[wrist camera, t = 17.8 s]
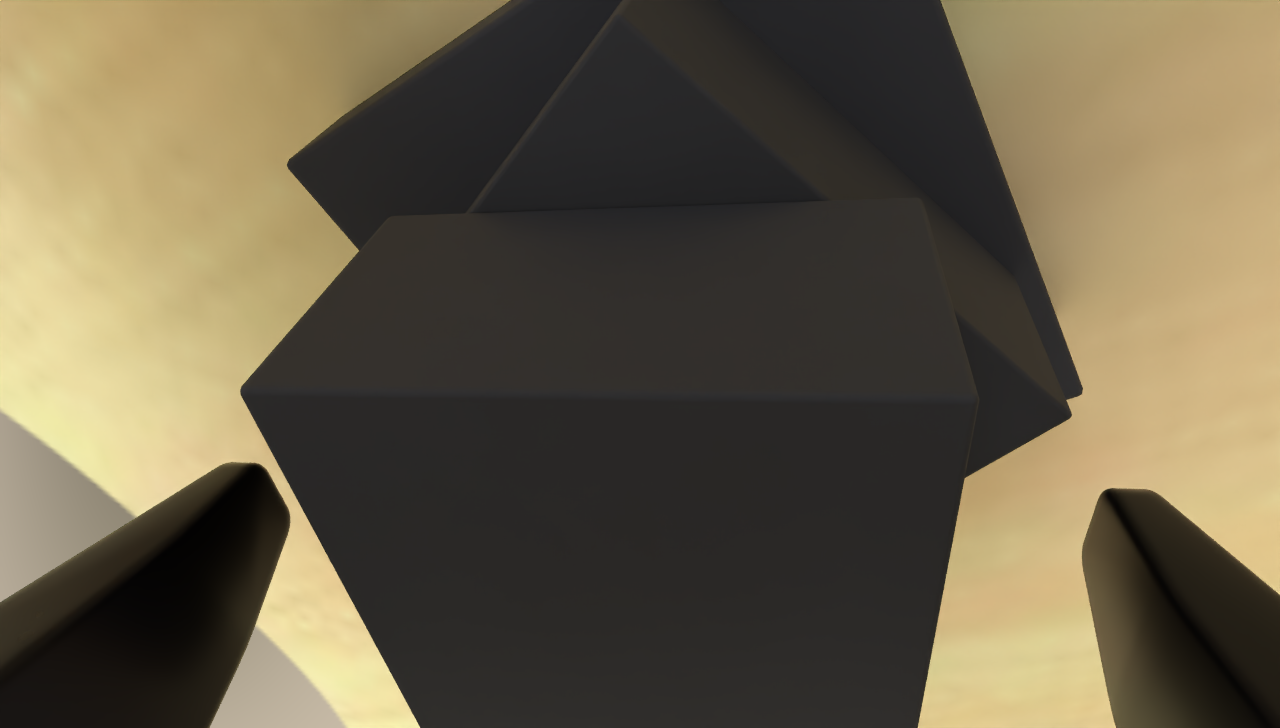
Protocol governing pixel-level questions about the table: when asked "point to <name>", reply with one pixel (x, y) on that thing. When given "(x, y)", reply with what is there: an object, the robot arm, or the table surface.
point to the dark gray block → (637, 460)
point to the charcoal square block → (757, 176)
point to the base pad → (770, 7)
